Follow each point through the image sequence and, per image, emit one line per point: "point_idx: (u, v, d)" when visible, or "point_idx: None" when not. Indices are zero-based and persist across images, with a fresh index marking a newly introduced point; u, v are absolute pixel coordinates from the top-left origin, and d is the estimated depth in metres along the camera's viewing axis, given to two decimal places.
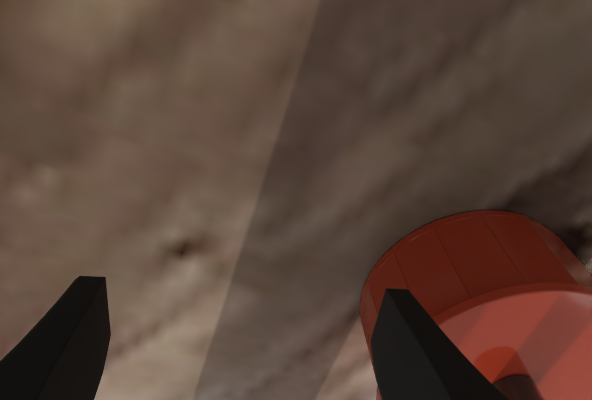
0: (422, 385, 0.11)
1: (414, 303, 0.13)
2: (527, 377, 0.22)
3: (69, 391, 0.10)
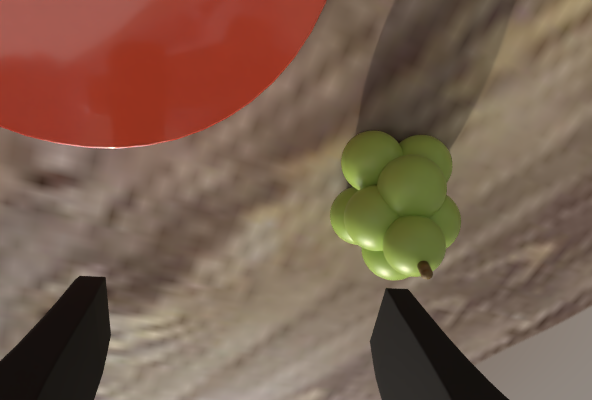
0: (422, 385, 0.11)
1: (414, 303, 0.13)
2: None
3: (69, 391, 0.10)
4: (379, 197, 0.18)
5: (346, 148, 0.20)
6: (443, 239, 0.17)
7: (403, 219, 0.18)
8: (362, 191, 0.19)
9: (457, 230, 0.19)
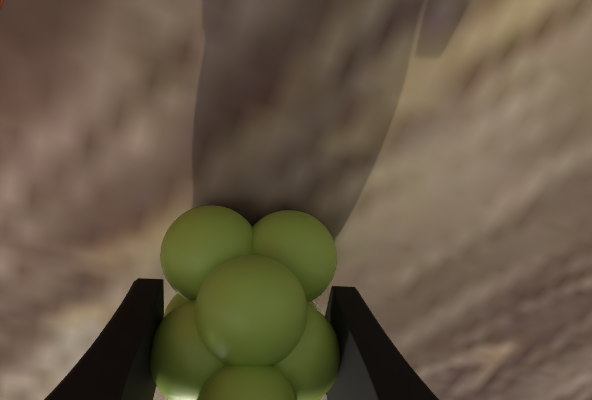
0: (357, 384, 0.11)
1: (357, 301, 0.12)
2: None
3: (138, 392, 0.10)
4: (193, 330, 0.11)
5: (165, 235, 0.13)
6: None
7: (223, 374, 0.10)
8: (174, 314, 0.12)
9: (329, 378, 0.11)
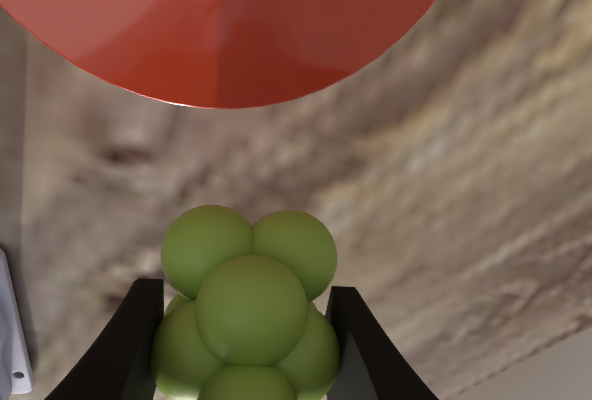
0: (357, 384, 0.11)
1: (357, 301, 0.12)
2: None
3: (138, 392, 0.10)
4: (193, 330, 0.11)
5: (165, 235, 0.13)
6: None
7: (223, 374, 0.10)
8: (174, 314, 0.11)
9: (330, 378, 0.11)
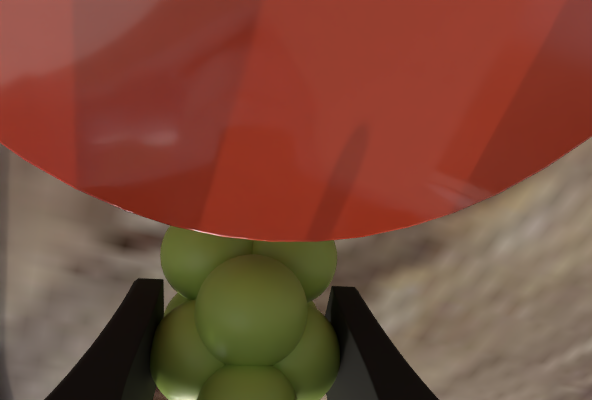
0: (357, 384, 0.11)
1: (358, 301, 0.12)
2: None
3: (138, 392, 0.10)
4: (192, 330, 0.11)
5: (165, 235, 0.13)
6: None
7: (223, 374, 0.10)
8: (174, 313, 0.11)
9: (329, 378, 0.11)
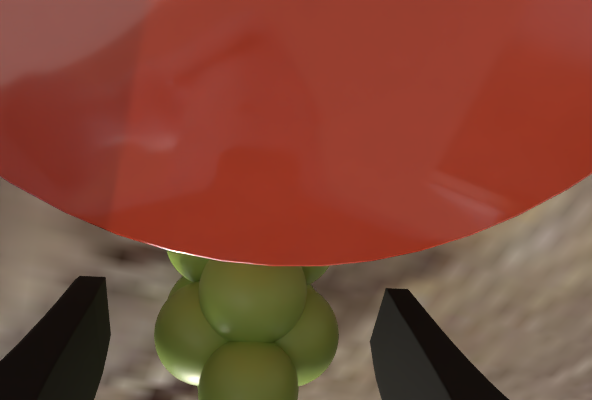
0: (422, 385, 0.11)
1: (414, 303, 0.13)
2: None
3: (69, 391, 0.10)
4: (197, 308, 0.11)
5: None
6: (288, 385, 0.11)
7: (226, 350, 0.11)
8: (178, 293, 0.12)
9: (328, 355, 0.12)
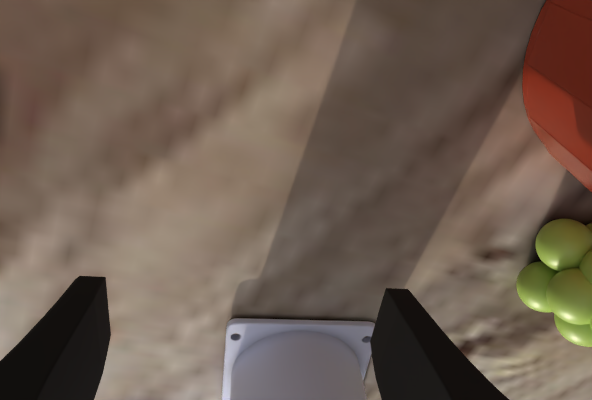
0: (422, 385, 0.11)
1: (414, 303, 0.13)
2: None
3: (69, 391, 0.10)
4: (587, 282, 0.22)
5: (545, 235, 0.24)
6: None
7: None
8: (568, 275, 0.22)
9: None
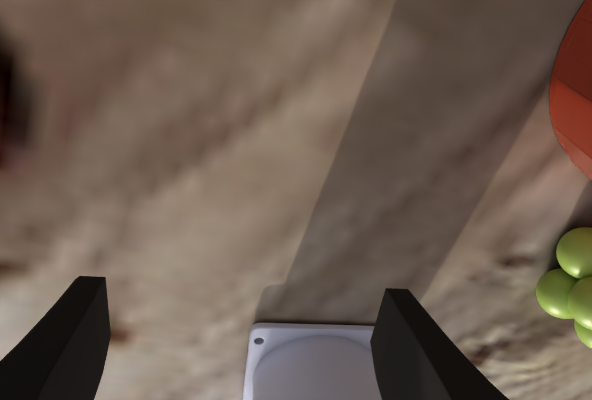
0: (422, 385, 0.11)
1: (414, 303, 0.13)
2: None
3: (69, 391, 0.10)
4: None
5: (567, 243, 0.24)
6: None
7: None
8: (590, 283, 0.23)
9: None
